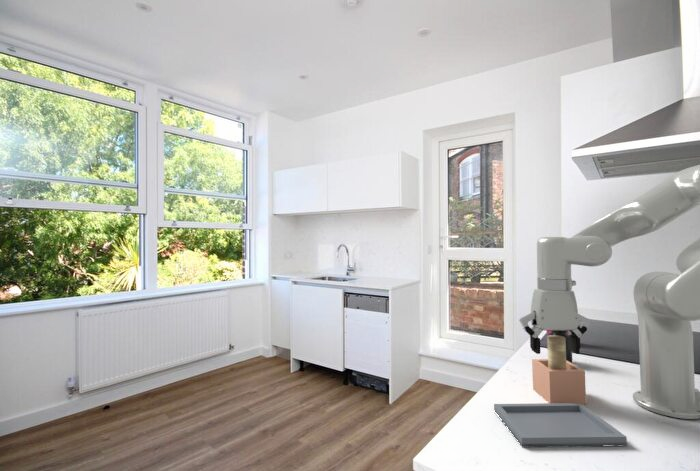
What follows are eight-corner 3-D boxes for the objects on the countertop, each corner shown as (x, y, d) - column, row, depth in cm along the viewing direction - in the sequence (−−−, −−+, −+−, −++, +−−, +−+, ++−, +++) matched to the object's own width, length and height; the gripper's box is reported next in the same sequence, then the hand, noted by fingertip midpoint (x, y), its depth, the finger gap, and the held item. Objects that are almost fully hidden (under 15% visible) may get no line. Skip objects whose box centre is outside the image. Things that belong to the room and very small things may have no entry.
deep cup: (565, 389, 93) (564, 358, 93) (586, 404, 84) (584, 370, 85) (533, 389, 93) (532, 359, 93) (550, 404, 85) (549, 371, 85)
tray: (580, 410, 81) (580, 402, 81) (626, 446, 67) (626, 436, 67) (494, 411, 82) (494, 404, 82) (521, 447, 68) (521, 437, 68)
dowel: (561, 392, 91) (559, 335, 91) (571, 399, 87) (568, 339, 87) (546, 393, 91) (544, 335, 91) (554, 400, 87) (552, 339, 87)
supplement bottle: (550, 357, 117) (548, 321, 117) (573, 361, 113) (572, 324, 113) (545, 363, 112) (544, 326, 112) (570, 368, 108) (569, 329, 108)
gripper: (579, 283, 93) (580, 347, 93) (513, 283, 93) (514, 347, 93) (598, 286, 85) (599, 357, 85) (526, 287, 86) (527, 357, 86)
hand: (555, 352), depth 89 cm, fingers open, 9 cm apart
